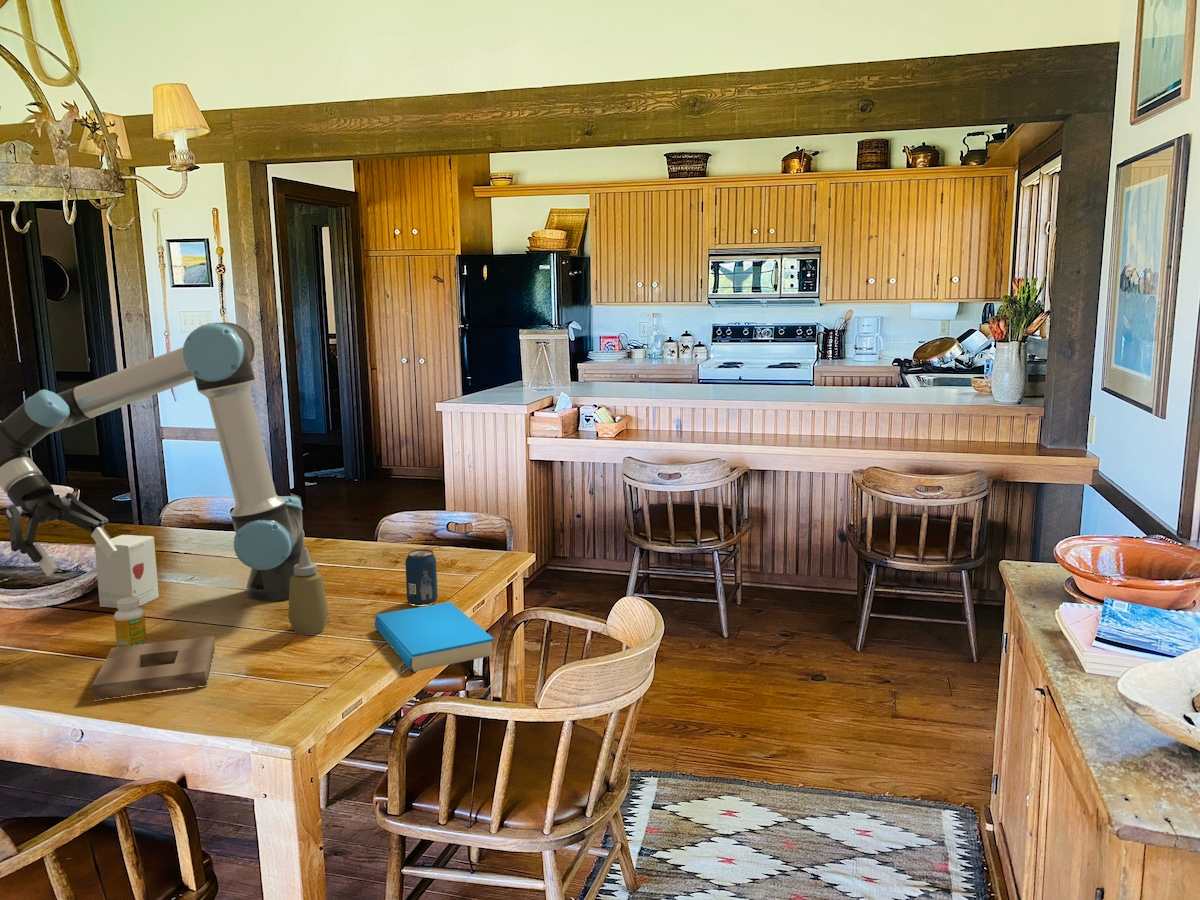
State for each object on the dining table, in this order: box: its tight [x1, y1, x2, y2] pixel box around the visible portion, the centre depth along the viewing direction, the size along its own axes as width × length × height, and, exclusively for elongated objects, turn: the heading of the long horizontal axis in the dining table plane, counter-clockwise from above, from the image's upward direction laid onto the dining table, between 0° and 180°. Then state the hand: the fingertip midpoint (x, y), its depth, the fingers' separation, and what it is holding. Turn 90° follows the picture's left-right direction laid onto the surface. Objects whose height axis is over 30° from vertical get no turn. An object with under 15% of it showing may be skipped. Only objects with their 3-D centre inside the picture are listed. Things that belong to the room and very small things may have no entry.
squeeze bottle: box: [287, 547, 329, 636], centre depth 186 cm, size 8×8×18 cm
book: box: [374, 601, 495, 672], centre depth 180 cm, size 17×4×25 cm
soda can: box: [405, 548, 439, 605], centre depth 203 cm, size 7×7×12 cm
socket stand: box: [91, 635, 216, 701], centre depth 165 cm, size 18×18×3 cm
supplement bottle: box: [113, 597, 148, 647], centre depth 178 cm, size 5×5×10 cm
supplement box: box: [94, 534, 160, 609], centre depth 204 cm, size 9×9×15 cm
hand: (84, 563), depth 180 cm, fingers open, 13 cm apart
